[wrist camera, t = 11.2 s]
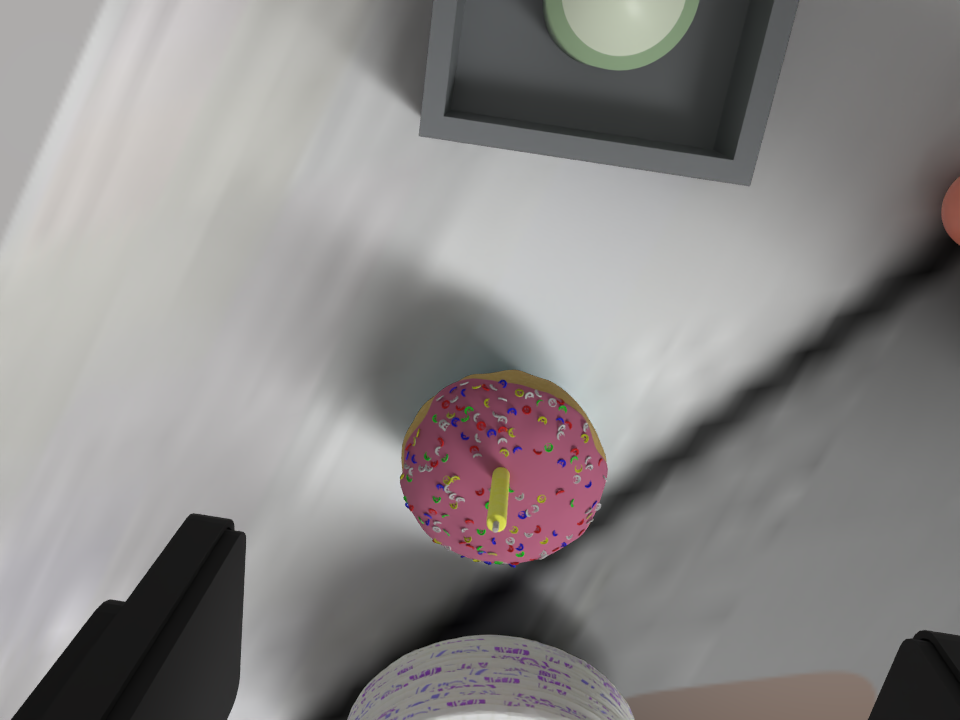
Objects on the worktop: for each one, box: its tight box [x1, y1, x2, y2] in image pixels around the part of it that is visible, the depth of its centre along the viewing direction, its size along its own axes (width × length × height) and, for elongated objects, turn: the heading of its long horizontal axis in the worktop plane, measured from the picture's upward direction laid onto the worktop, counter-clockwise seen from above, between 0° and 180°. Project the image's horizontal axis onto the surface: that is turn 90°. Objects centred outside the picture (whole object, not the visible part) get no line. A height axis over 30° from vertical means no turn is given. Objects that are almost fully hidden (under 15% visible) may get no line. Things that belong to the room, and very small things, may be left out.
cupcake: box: [400, 370, 608, 567], centre depth 31 cm, size 9×8×12 cm
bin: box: [419, 0, 799, 186], centre depth 28 cm, size 12×11×4 cm
